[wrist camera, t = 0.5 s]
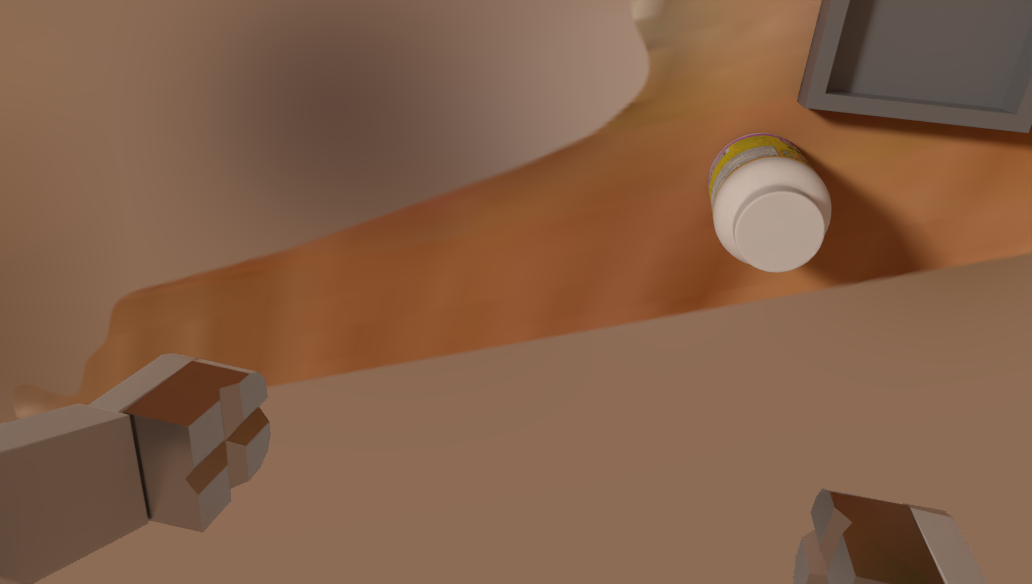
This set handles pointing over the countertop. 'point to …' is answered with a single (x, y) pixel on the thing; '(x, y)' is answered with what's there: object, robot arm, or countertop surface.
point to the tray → (924, 61)
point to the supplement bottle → (768, 203)
